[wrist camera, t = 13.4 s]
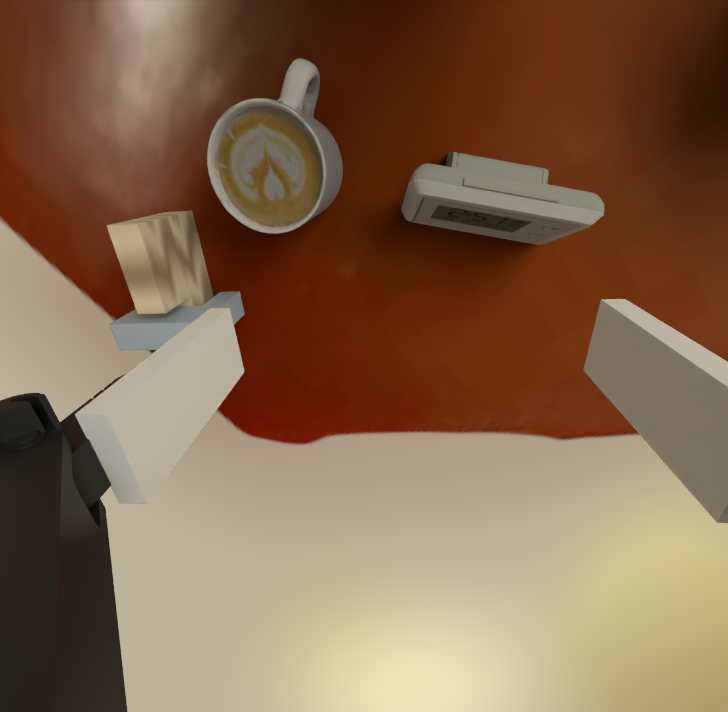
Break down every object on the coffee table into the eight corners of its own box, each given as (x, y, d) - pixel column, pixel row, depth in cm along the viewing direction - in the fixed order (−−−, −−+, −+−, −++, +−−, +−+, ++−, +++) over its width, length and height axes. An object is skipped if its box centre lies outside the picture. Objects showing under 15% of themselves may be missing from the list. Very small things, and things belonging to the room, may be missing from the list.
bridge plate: (163, 293, 47) (109, 324, 38) (239, 291, 46) (202, 322, 37) (170, 315, 49) (119, 350, 40) (244, 314, 48) (209, 349, 39)
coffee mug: (314, 236, 42) (291, 256, 34) (235, 183, 41) (189, 190, 32) (379, 118, 37) (373, 105, 28) (291, 51, 35) (254, 14, 26)
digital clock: (393, 213, 41) (391, 228, 31) (428, 121, 37) (438, 108, 27) (526, 268, 42) (562, 299, 33) (574, 186, 38) (632, 194, 29)
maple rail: (167, 211, 42) (106, 225, 34) (192, 210, 42) (137, 223, 33) (213, 378, 53) (175, 422, 44) (233, 378, 52) (200, 422, 43)
